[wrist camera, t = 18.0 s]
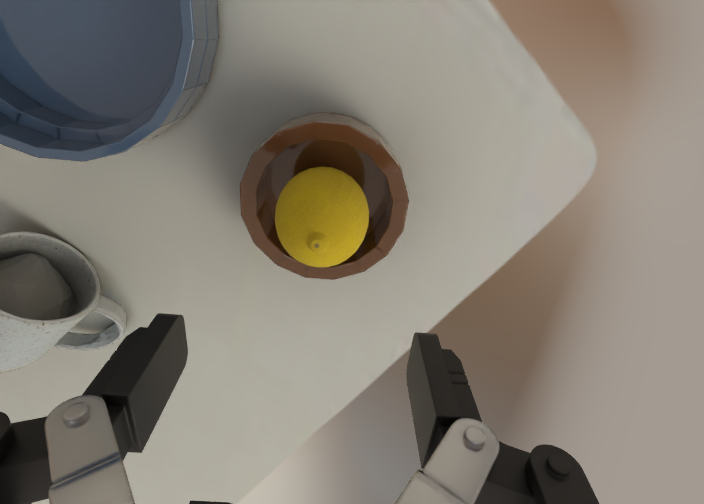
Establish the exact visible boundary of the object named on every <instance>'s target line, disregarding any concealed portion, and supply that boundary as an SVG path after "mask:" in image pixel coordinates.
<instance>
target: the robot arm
mask: <svg viewBox="0 0 704 504" xmlns="http://www.w3.org/2000/svg"><path fill="white" fill-rule="evenodd" d="M187 355H188V348H187V340H186V332H185V324H184V318H183V316H182V315H175V314H161V313H159V314H157V315H156V316H155V318H154V319H153V321H152V322H151V324H150V325H149V326H148V328H144V327H140V328H138V329H137V330H135V331H134V332H132V333H131V334H129V335H128V336H127V337H126V338H125V339H124V340H123V342H122V343H121V344H120V345H119V347H118V348H117V351H115V352H114V353H113V355H112V356H111V357H110V360H108V361H107V363H106V364H105V365H104V367H103V368H102V369H101V371H100V372H99V373H98V375H97V376H96V377H95V379H94V380H93V381H92V383H91V384H90V385H89V387H88V388H87V389H86V391H85V392H84V393H83V395H82V396H78V397H74V398H72V399H69V400H67V401H65V402H63V403H61V404H60V405H58V406H57V407H56V408H55V409H54V410H53V411H52V412H51V413H50V414H49V415H48V416H47V417H43V418H38V419H32V420H27V421H22V422H17V423H11V422H10V420H9V418H8V416H7V415H6V414H5V413H3V412H0V504H31V503H32V502H36V501H40V500H44V499H48V498H49V503H50V504H135V502H134V499H133V496H132V492H131V489H130V485H129V482H128V478H127V475H126V471H125V468H124V464H123V460H124V458H125V456H126V454H127V452H138V453H142V451H143V449H144V447H145V445H146V443H147V441H148V439H149V437H150V435H151V433H152V431H153V429H154V427H155V425H156V423H157V421H158V419H159V417H160V415H161V413H162V411H163V409H164V407H165V405H166V403H167V401H168V399H169V397H170V395H171V393H172V391H173V389H174V387H175V385H176V383H177V381H178V379H179V377H180V375H181V373H182V371H183V369H184V367H185V365H186V361H187ZM407 386H408V392H409V398H410V403H411V409H412V415H413V421H414V426H415V433H416V439H417V444H418V450H419V456H420V462H421V468H422V469H423V470H422V471H420V470H418V471H417V472H416V473H415V474H414V475H413V477H412V478H411V480H410V481H409V483H408V484H407V486H406V487H405V489H404V490H403V492H402V493H401V495H400V496H399V498H398V499H397V501H396V502H395V504H599V502H598V500H597V498H596V496H595V494H594V492H593V490H592V488H591V486H590V484H589V482H588V479H587V477H586V476H585V473H584V471H583V469H582V468H581V466H580V465H579V463H578V462H577V461H576V460H575V459H574V458H573V457H572V456H571V455H570V454H568V453H567V452H565V451H564V450H562V449H560V448H558V447H555V446H552V445H539V446H536V447H535V448H534V449H533V450H532V452H531V453H528V452H525V451H522V450H519V449H517V448H514V447H511V446H508V445H506V444H503V443H502V442H500V441H499V440H498V438H497V436H496V435H495V433H494V432H493V431H492V430H491V429H490V428H489V427H488V426H487V425H485V424H484V423H482V420H481V418H480V415H479V412H478V409H477V406H476V403H475V401H474V398H473V395H472V392H471V389H470V386H469V385H468V381H467V378H466V375H465V372H464V369H463V366H462V363H461V361H460V359H459V358H458V357H457V356H456V355H455V354H454V353H453V351H452V350H447V349H441V346H440V343H439V339H438V336H437V334H430V333H415V334H414V337H413V341H412V346H411V351H410V355H409V360H408V365H407ZM189 504H231V503H227V502H207V501H190V503H189Z"/></svg>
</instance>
